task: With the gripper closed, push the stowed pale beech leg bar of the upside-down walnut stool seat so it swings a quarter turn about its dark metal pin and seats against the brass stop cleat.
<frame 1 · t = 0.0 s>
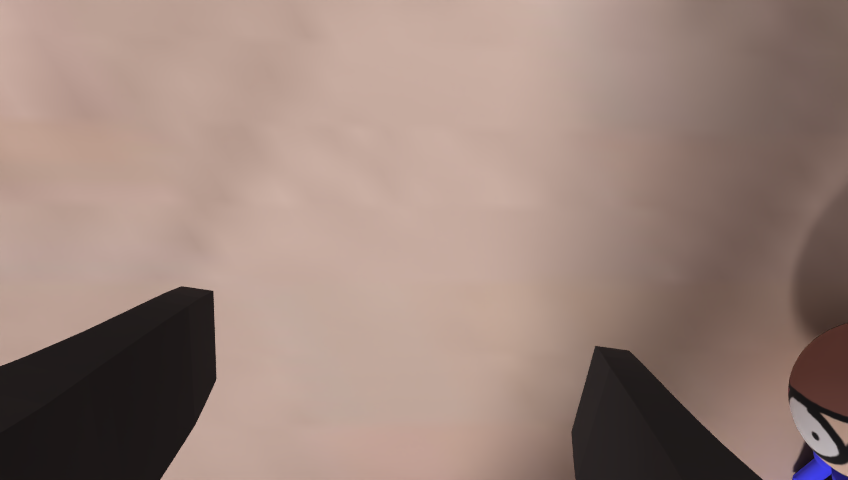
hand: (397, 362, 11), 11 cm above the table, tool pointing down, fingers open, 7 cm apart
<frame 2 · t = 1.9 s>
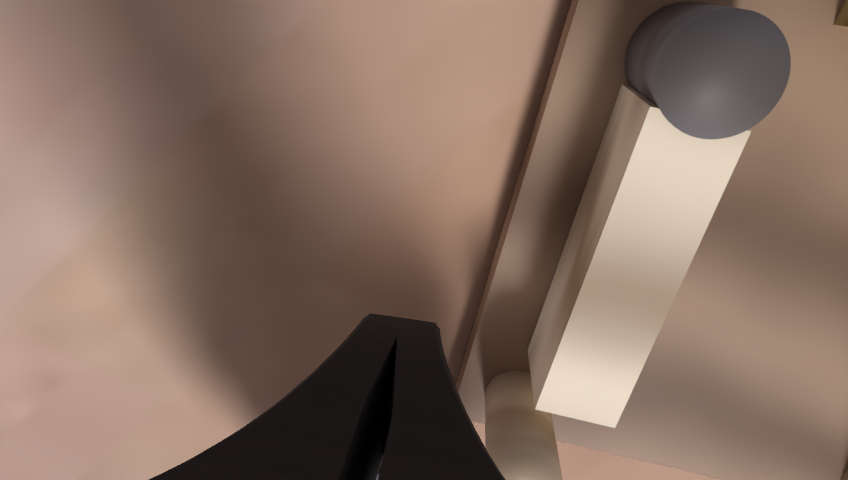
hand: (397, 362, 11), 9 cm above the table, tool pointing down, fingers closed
stool seat: (771, 249, 19), on the table
leg bar: (634, 224, 16), point 3 cm above the table, hinge at 0.0°
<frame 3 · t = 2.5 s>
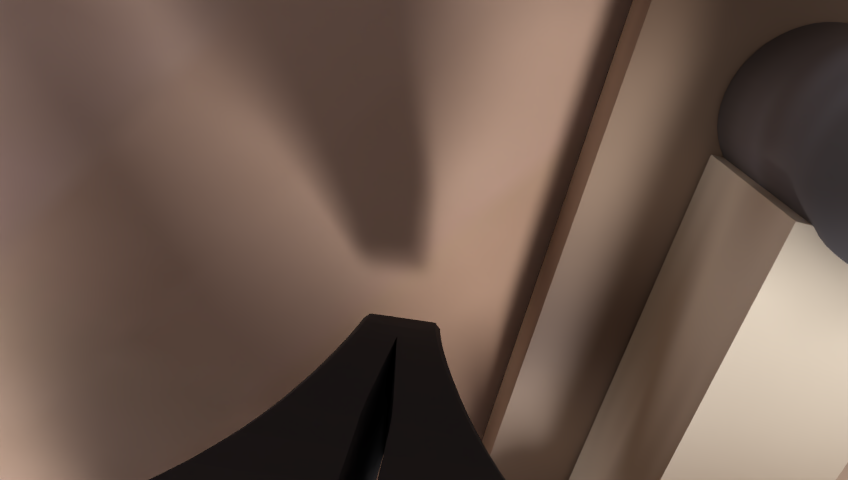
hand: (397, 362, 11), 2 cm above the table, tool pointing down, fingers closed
leg bar: (732, 383, 10), point 3 cm above the table, hinge at 0.0°
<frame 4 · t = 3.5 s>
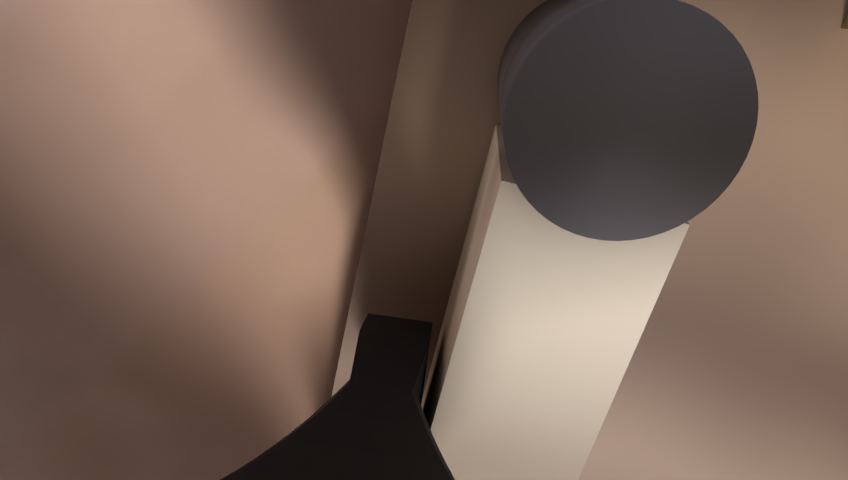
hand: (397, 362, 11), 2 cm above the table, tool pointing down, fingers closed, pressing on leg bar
stool seat: (743, 360, 13), on the table
leg bar: (516, 352, 10), point 3 cm above the table, hinge at 0.7°, touching gripper
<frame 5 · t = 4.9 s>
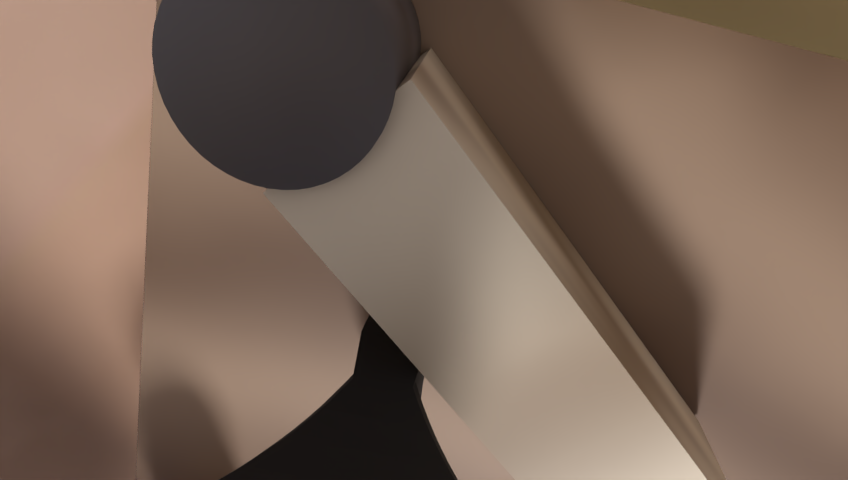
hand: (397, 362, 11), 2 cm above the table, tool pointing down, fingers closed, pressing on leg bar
stool seat: (554, 332, 13), on the table
leg bar: (487, 282, 10), point 3 cm above the table, hinge at 50.7°, touching gripper
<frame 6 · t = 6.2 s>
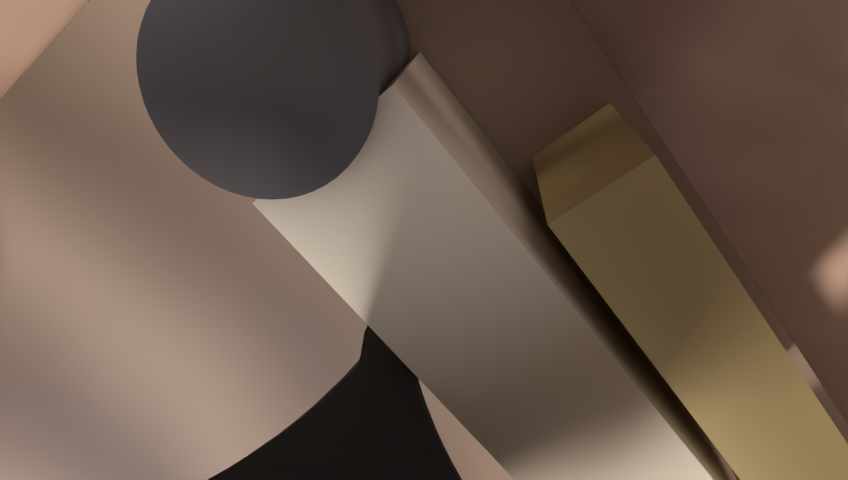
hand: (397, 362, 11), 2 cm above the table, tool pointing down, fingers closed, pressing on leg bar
stool seat: (338, 374, 14), on the table
leg bar: (484, 284, 9), point 3 cm above the table, hinge at 91.1°, touching gripper
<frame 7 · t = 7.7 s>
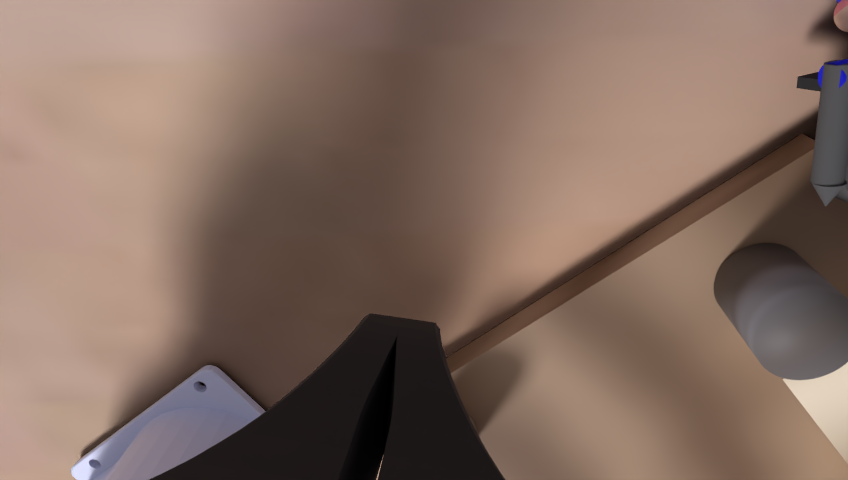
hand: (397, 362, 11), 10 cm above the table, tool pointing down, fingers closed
stool seat: (693, 434, 24), on the table
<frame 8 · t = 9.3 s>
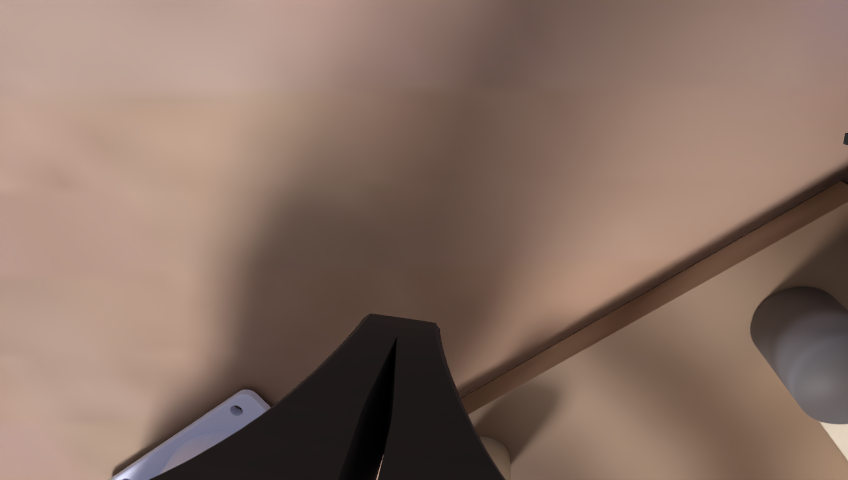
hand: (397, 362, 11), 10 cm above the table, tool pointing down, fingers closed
stool seat: (720, 465, 24), on the table
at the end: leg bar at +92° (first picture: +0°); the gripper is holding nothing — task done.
